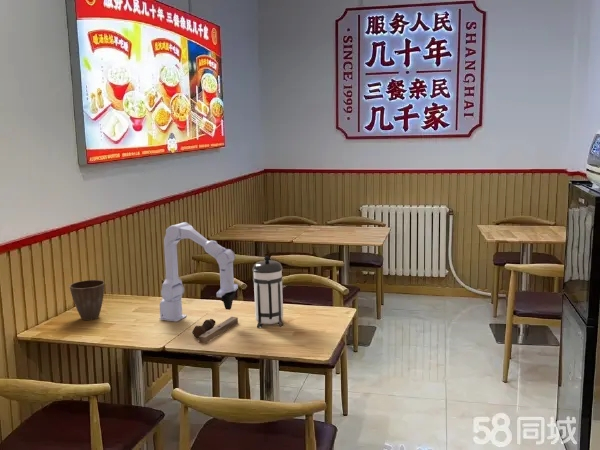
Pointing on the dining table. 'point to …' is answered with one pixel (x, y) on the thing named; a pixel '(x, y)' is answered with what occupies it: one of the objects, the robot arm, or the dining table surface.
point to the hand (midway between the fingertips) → (228, 309)
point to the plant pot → (88, 298)
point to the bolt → (203, 328)
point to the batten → (218, 330)
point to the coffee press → (268, 292)
